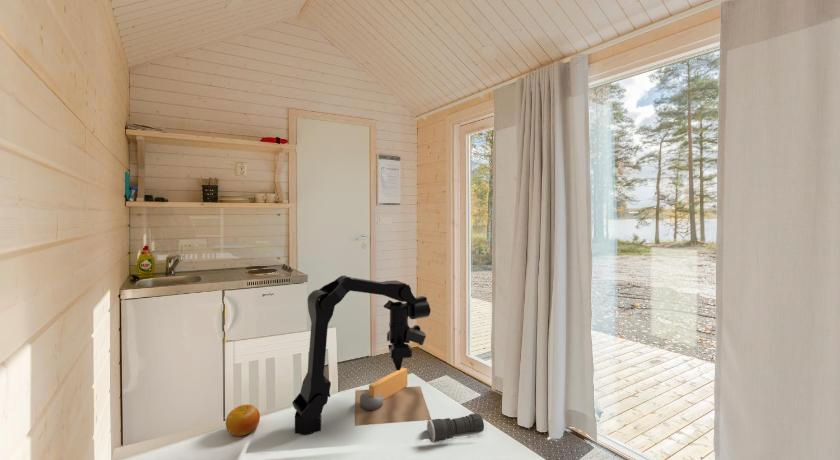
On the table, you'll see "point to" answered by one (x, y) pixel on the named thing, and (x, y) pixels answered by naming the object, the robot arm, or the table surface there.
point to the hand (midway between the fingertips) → (398, 369)
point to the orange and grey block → (383, 389)
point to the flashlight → (454, 426)
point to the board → (394, 408)
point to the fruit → (242, 420)
